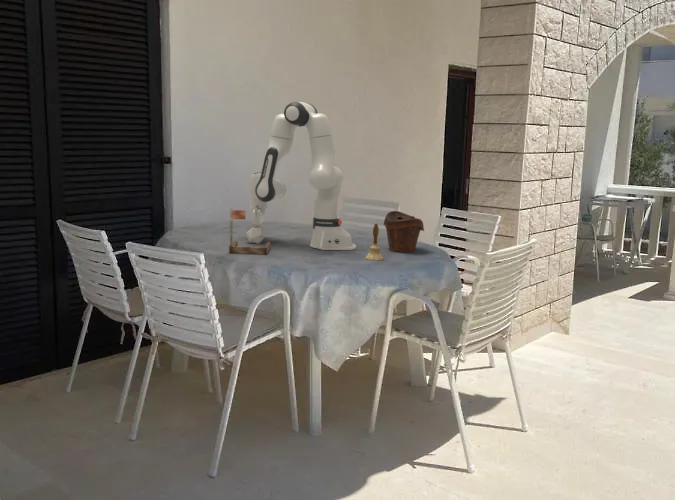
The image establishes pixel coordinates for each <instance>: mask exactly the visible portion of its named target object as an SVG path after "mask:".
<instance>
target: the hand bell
mask: <svg viewBox="0 0 675 500" xmlns="http://www.w3.org/2000/svg"><path fill="white" fill-rule="evenodd" d="M379 231H380V230H379V226H378V223H374V225H373V228H372V235H373V244H372V245H371V246H370V247H369V251H368V254H367V255H366V256H365V257H364V258H365V260H369V261H383V260H384V257H383V255H382V253H381V247H380V246H378V237H379Z"/></svg>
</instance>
